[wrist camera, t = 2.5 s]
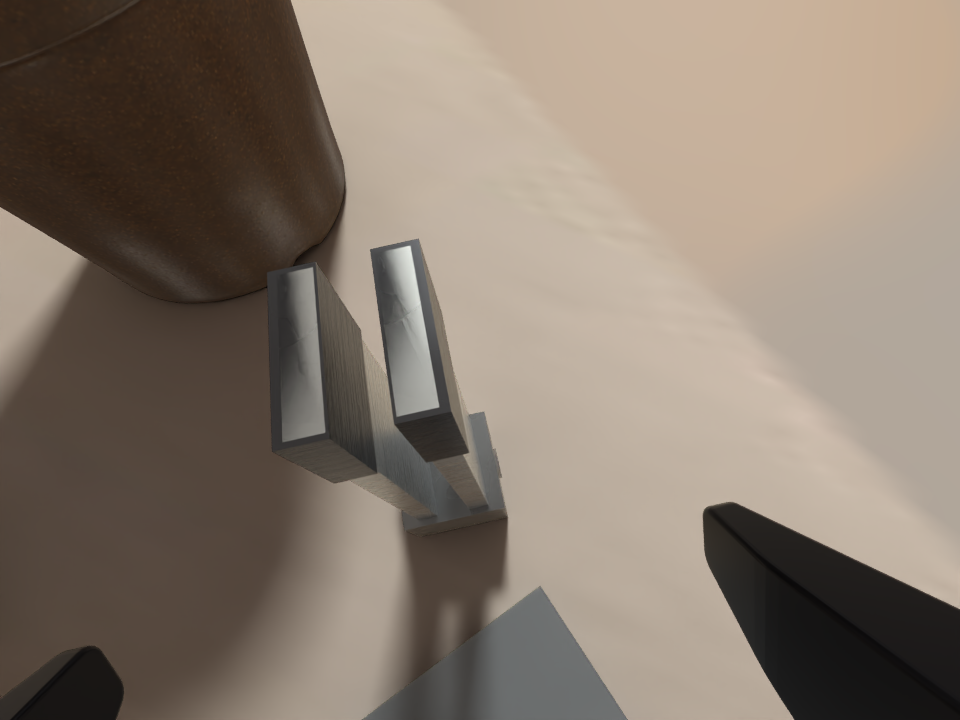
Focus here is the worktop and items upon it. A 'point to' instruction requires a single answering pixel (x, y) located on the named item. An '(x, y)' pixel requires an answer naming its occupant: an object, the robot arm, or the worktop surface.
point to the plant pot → (167, 139)
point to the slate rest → (509, 675)
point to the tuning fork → (379, 396)
